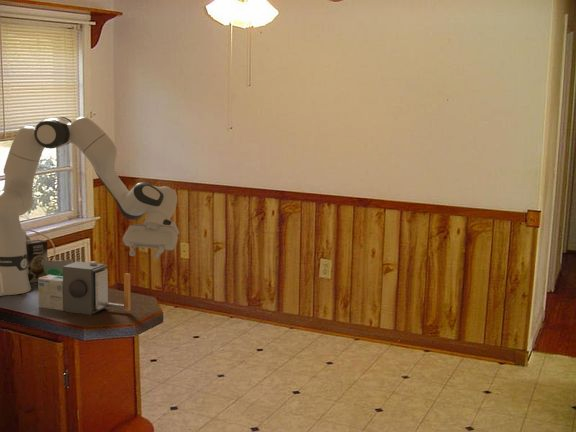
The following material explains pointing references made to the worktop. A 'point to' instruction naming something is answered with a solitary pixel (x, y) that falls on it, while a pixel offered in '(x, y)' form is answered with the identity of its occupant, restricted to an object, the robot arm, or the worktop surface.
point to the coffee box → (35, 259)
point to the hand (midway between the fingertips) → (143, 256)
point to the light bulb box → (51, 292)
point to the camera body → (80, 287)
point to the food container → (55, 266)
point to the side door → (102, 291)
